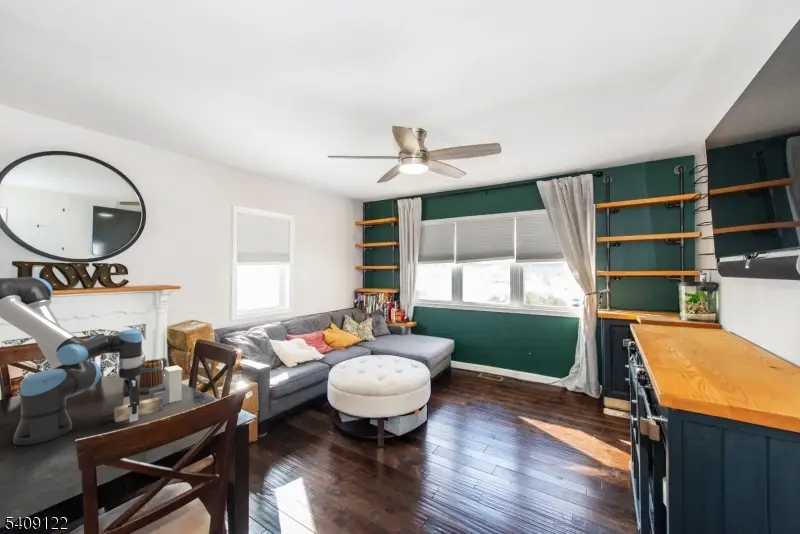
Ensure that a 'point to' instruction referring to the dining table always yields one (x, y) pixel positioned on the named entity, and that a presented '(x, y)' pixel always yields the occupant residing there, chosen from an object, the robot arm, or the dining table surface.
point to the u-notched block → (169, 386)
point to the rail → (139, 408)
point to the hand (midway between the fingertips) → (130, 416)
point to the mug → (151, 375)
